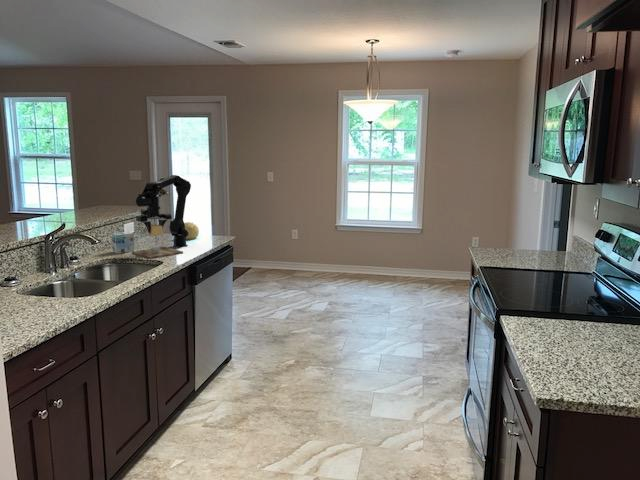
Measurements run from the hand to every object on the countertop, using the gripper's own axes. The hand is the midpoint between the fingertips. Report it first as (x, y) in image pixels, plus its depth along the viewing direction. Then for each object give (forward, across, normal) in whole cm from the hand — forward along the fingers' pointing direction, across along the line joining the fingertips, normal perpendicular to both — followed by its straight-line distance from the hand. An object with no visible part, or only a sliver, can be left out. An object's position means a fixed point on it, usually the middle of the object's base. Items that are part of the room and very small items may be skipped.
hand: (154, 232), depth 287 cm
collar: (+1, 0, 0) cm, 1 cm away
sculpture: (+11, -37, -25) cm, 46 cm away
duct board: (+11, 0, +3) cm, 12 cm away
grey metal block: (+11, +2, +6) cm, 13 cm away
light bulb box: (+12, +12, -15) cm, 22 cm away
